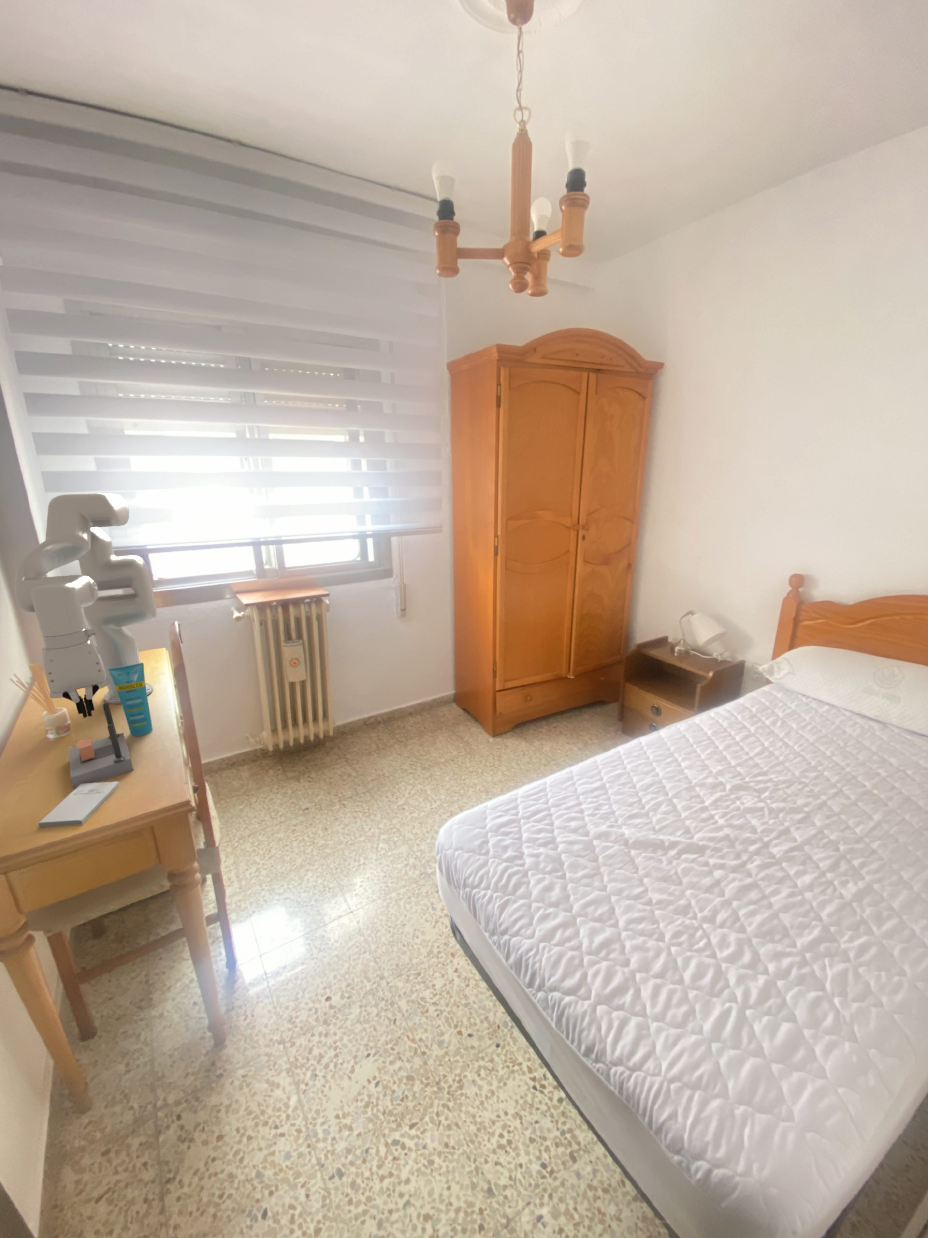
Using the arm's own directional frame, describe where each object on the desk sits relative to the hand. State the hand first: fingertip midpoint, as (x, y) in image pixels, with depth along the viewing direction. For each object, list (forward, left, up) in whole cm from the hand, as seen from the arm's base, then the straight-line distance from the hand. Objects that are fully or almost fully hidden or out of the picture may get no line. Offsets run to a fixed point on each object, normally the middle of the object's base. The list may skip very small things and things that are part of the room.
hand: (87, 714), depth 112 cm
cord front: (+6, +4, -10) cm, 13 cm away
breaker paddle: (0, -2, -10) cm, 10 cm away
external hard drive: (+15, -4, -14) cm, 21 cm away
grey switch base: (0, 0, -13) cm, 13 cm away
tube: (-11, +10, -14) cm, 20 cm away
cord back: (-7, +4, -10) cm, 13 cm away
